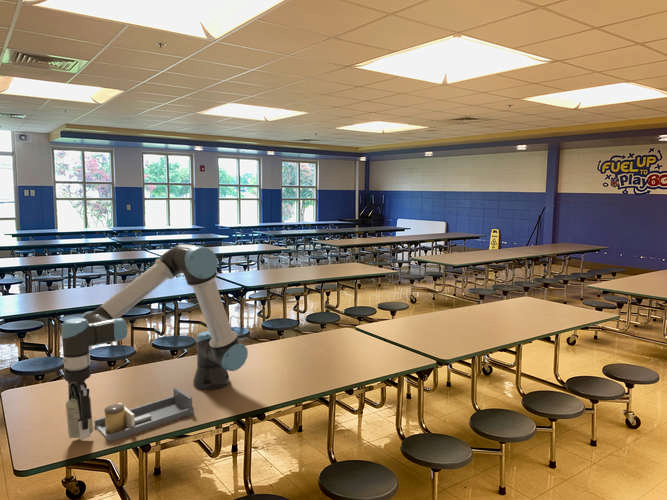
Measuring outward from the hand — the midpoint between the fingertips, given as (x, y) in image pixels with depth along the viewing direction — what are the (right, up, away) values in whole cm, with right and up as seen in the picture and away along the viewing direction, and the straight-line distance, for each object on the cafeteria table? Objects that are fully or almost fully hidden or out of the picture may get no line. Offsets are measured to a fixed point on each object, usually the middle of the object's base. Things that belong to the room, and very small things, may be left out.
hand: (80, 433), depth 156 cm
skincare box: (0, -1, 0) cm, 1 cm away
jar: (+8, -2, +8) cm, 11 cm away
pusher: (+13, -1, +13) cm, 19 cm away
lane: (+15, -1, +15) cm, 22 cm away
